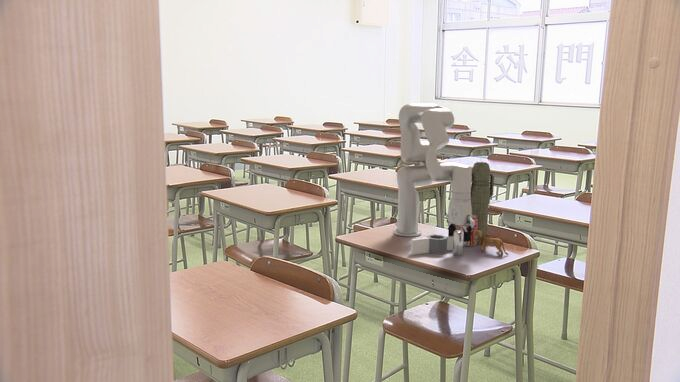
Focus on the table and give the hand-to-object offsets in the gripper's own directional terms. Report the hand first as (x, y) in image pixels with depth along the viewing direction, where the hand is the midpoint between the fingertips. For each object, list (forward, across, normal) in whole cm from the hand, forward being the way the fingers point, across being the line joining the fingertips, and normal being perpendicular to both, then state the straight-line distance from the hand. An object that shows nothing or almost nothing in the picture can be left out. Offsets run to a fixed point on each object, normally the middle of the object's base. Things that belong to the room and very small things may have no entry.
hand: (459, 238), depth 227 cm
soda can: (+7, -12, +14) cm, 20 cm away
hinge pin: (+7, -1, 0) cm, 7 cm away
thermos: (+7, -16, +22) cm, 28 cm away
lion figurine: (+7, +1, +14) cm, 16 cm away
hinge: (+7, -10, -4) cm, 13 cm away
